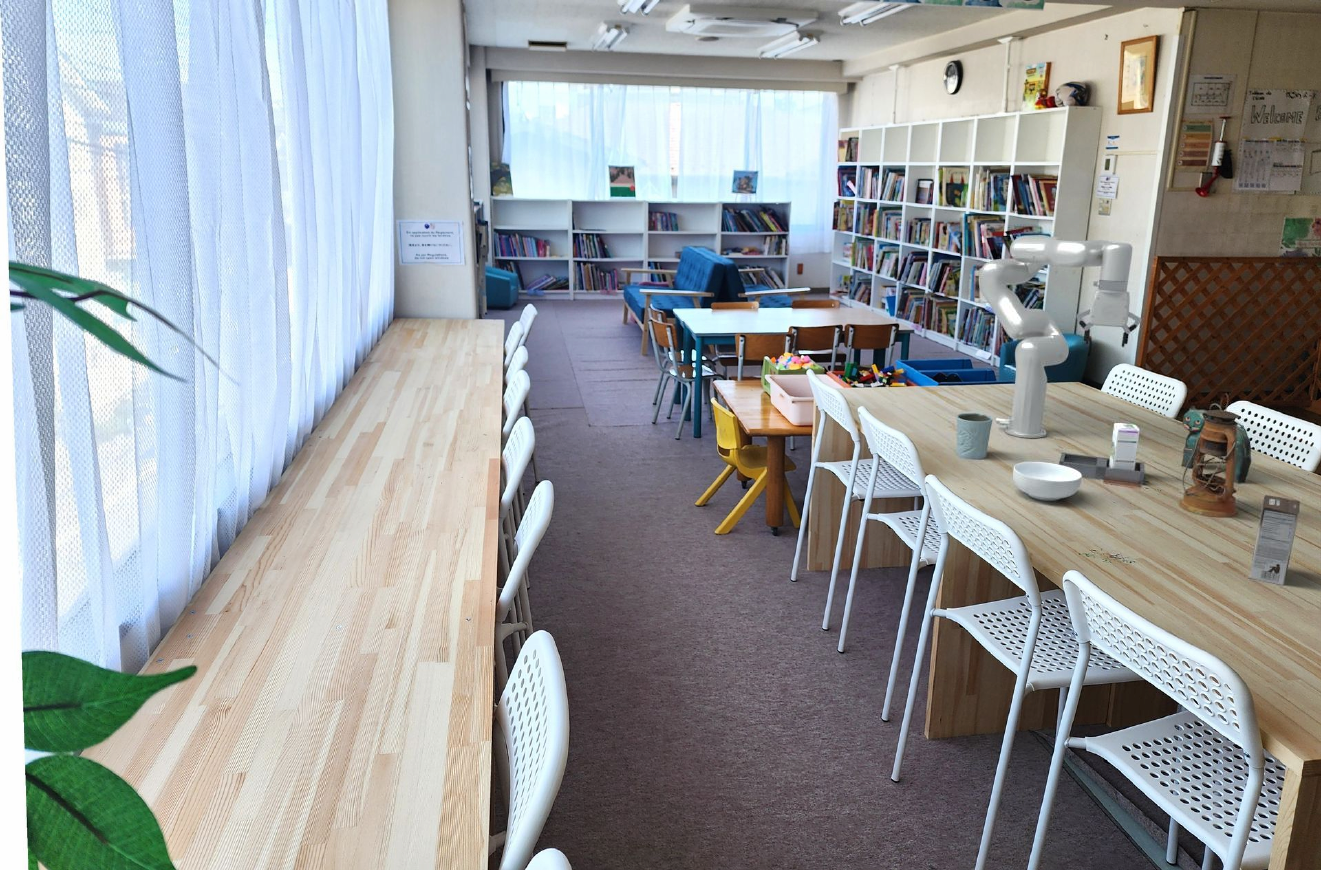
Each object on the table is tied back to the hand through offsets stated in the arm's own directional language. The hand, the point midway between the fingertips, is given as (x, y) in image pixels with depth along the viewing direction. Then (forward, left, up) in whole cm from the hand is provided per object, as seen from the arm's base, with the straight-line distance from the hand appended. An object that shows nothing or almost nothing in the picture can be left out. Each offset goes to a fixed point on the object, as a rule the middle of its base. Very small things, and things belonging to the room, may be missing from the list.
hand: (1104, 345), depth 274 cm
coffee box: (+38, -80, -34) cm, 95 cm away
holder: (+3, -23, -33) cm, 40 cm away
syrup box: (+9, -21, -33) cm, 40 cm away
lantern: (+29, -39, -34) cm, 59 cm away
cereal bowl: (-9, -48, -34) cm, 59 cm away
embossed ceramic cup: (-32, -19, -34) cm, 50 cm away
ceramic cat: (+32, -5, -34) cm, 47 cm away
